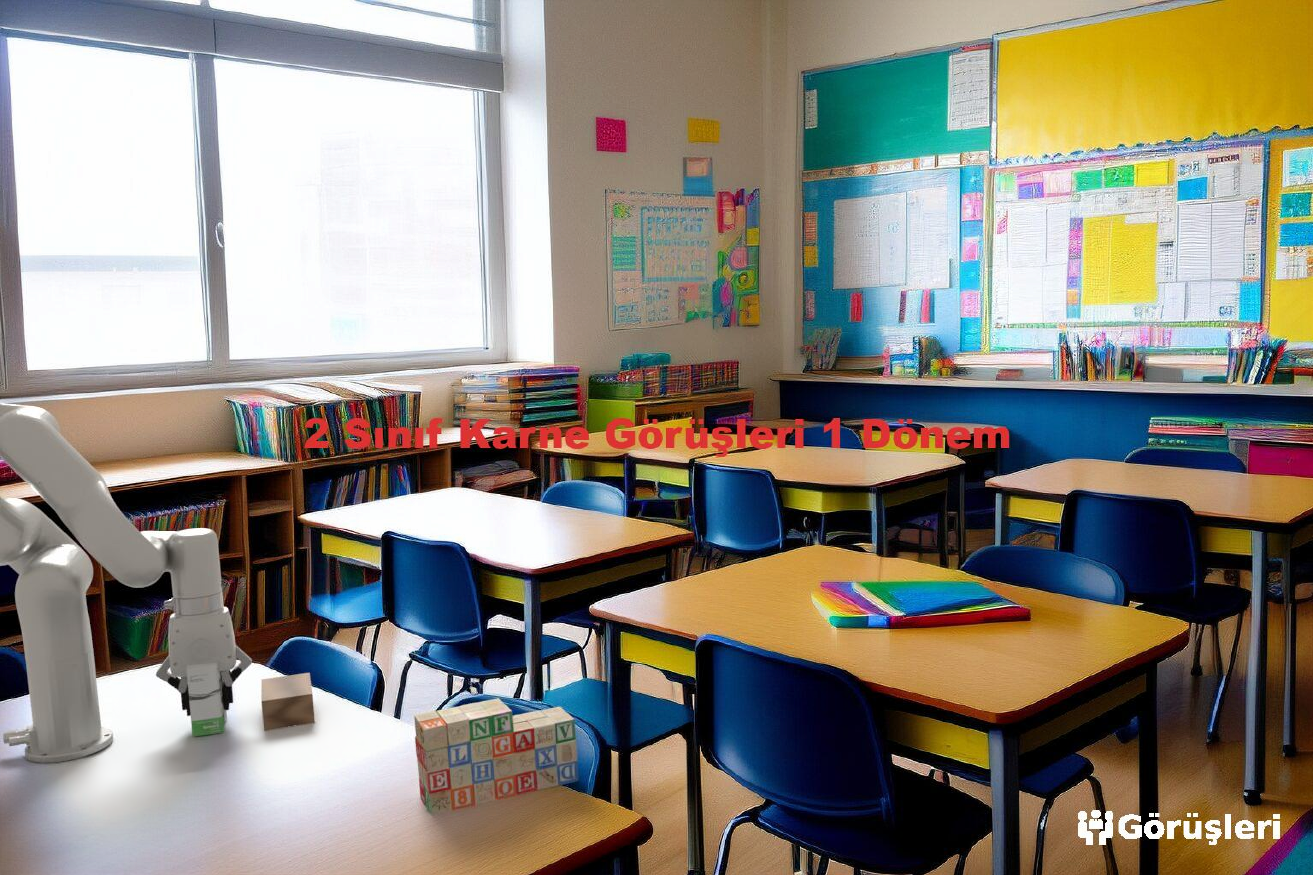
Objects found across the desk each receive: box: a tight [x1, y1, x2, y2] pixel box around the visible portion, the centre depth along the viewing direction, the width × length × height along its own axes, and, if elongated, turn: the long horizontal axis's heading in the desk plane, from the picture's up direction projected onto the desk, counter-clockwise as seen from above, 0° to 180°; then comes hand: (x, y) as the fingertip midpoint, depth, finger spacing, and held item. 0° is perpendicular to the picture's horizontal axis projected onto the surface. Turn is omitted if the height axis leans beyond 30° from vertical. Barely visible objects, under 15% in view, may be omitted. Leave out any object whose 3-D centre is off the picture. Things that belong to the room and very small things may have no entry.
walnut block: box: [260, 672, 316, 732], centre depth 190 cm, size 8×12×5 cm, turn 19°
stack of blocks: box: [413, 697, 579, 816], centre depth 156 cm, size 21×6×12 cm, turn 114°
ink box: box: [186, 662, 228, 738], centre depth 185 cm, size 9×5×12 cm, turn 17°
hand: (208, 709), depth 186 cm, fingers closed on ink box, 5 cm apart
